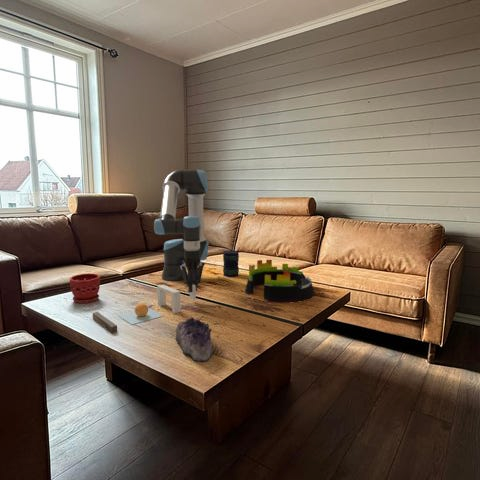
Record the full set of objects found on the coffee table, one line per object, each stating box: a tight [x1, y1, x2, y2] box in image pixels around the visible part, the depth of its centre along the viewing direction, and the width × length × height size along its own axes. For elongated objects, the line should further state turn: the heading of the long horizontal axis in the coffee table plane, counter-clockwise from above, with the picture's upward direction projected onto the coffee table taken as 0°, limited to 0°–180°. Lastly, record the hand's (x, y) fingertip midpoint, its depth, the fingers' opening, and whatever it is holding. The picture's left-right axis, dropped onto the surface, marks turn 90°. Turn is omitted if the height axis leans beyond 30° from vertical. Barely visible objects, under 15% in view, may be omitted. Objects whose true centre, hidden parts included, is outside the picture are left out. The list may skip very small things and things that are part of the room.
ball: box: [134, 303, 149, 317], centre depth 144 cm, size 6×6×6 cm
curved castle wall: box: [244, 259, 316, 304], centre depth 179 cm, size 37×37×15 cm
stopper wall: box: [92, 311, 118, 334], centre depth 135 cm, size 2×20×2 cm, turn 42°
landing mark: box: [117, 307, 163, 326], centre depth 145 cm, size 14×14×1 cm
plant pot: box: [69, 273, 101, 304], centre depth 164 cm, size 13×13×12 cm
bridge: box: [157, 284, 182, 314], centre depth 154 cm, size 3×14×9 cm, turn 42°
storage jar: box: [222, 250, 240, 278], centre depth 214 cm, size 10×10×15 cm
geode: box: [175, 317, 214, 363], centre depth 115 cm, size 20×12×10 cm, turn 25°
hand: (192, 298), depth 163 cm, fingers closed
